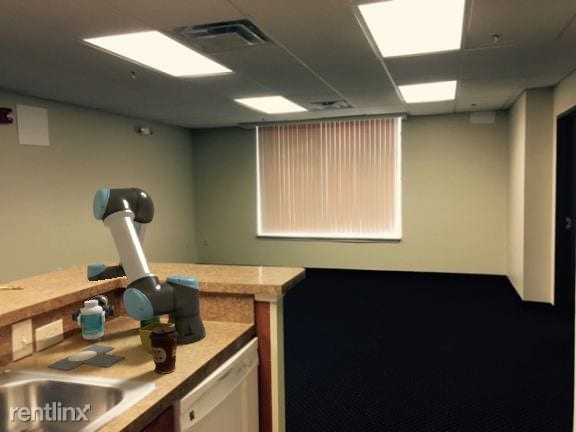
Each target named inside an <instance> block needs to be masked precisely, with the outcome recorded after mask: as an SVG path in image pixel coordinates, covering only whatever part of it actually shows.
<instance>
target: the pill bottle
mask: <svg viewBox="0 0 576 432" xmlns="http://www.w3.org/2000/svg"><path fill="white" fill-rule="evenodd" d="M88 300H89V299H88ZM88 300H86V301H84V302H83V303H84V307H83V308H81V309H82V310H81V319H82V322H81V330H82V331H81V332H82V338H83V339H84V340H96V339H99V338H102V337H103V336H104V334H105V329H104V328H105V327H104V323H102V313H103V309H102V307H101V306H98V300H89V301H88Z"/></svg>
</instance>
